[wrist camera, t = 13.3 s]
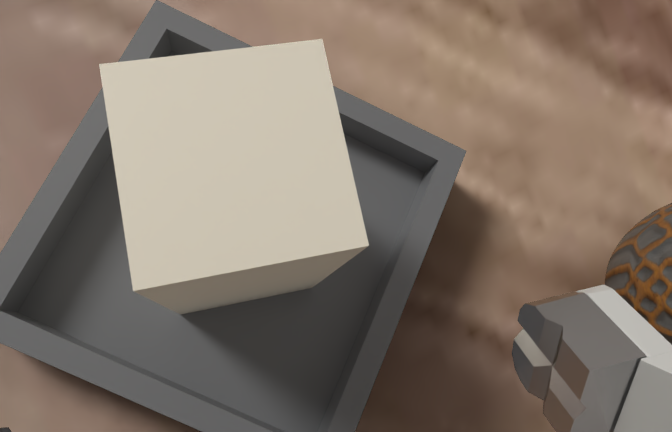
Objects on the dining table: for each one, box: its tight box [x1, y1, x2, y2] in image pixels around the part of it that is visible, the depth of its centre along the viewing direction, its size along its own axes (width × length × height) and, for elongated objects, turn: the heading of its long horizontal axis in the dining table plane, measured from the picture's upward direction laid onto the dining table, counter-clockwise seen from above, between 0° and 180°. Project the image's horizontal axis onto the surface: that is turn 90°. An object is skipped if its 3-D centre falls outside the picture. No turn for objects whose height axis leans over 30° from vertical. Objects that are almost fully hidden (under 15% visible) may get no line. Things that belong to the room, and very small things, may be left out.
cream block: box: [99, 39, 369, 315], centre depth 16 cm, size 4×4×9 cm
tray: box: [0, 0, 466, 432], centre depth 20 cm, size 12×12×2 cm
